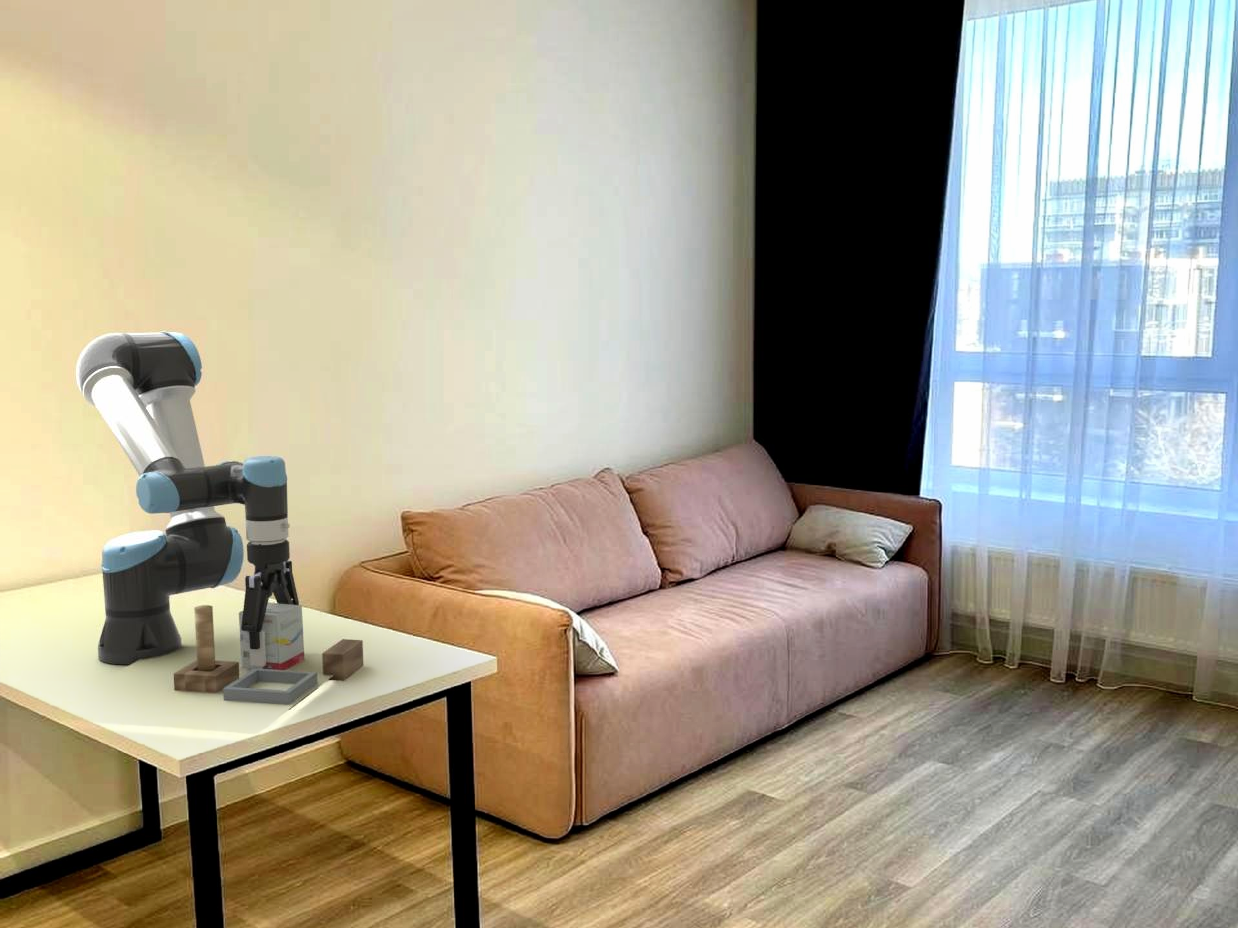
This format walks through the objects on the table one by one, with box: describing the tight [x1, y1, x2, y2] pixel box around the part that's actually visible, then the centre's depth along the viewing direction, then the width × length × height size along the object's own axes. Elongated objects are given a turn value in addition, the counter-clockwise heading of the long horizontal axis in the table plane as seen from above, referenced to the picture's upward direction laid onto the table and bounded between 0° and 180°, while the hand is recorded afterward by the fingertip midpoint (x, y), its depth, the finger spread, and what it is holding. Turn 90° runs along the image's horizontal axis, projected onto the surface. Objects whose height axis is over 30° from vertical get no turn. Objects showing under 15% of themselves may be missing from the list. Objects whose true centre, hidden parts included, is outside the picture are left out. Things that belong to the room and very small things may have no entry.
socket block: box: [173, 659, 241, 694], centre depth 205 cm, size 8×8×4 cm
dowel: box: [193, 604, 216, 672], centre depth 204 cm, size 3×3×14 cm
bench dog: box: [321, 638, 364, 682], centre depth 214 cm, size 4×9×5 cm, turn 170°
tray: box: [222, 668, 318, 711], centre depth 201 cm, size 12×11×3 cm
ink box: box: [238, 601, 305, 670], centre depth 216 cm, size 9×9×12 cm
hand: (273, 655), depth 216 cm, fingers open, 11 cm apart
